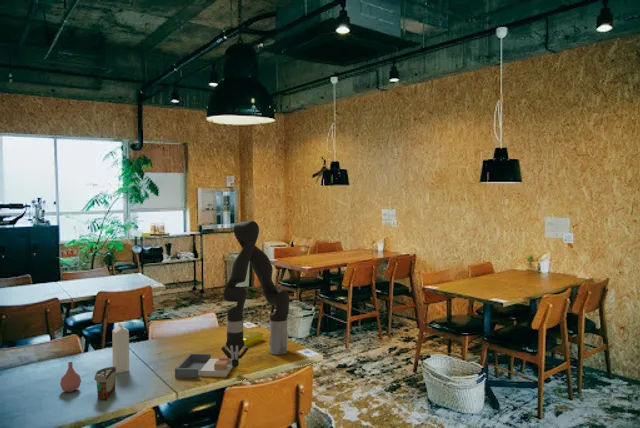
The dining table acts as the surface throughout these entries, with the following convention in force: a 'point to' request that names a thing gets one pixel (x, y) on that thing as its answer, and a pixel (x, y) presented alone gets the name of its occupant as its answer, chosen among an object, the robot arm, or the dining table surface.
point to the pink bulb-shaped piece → (70, 379)
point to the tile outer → (220, 365)
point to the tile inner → (224, 358)
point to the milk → (120, 348)
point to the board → (209, 370)
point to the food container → (105, 382)
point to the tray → (191, 366)
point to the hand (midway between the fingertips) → (235, 367)
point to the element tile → (252, 337)
